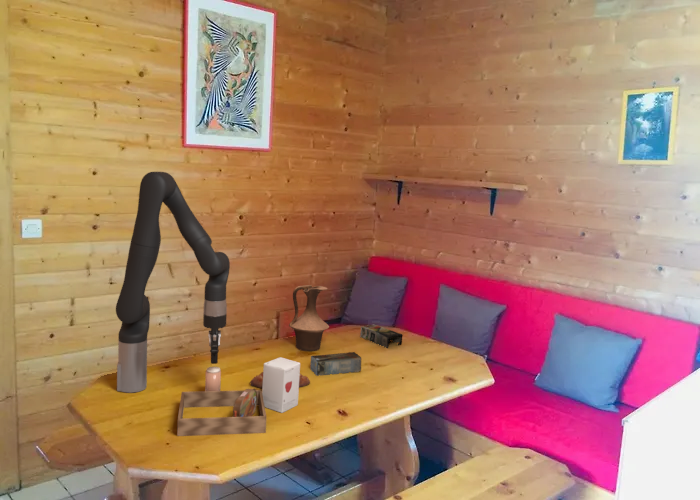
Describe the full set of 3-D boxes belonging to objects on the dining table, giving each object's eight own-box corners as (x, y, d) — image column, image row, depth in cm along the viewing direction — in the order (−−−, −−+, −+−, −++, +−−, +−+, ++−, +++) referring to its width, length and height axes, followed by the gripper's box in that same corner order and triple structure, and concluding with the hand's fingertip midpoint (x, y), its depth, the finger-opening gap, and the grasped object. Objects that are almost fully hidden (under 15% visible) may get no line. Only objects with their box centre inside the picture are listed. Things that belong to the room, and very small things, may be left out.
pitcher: (293, 355, 252) (296, 289, 248) (282, 342, 268) (285, 280, 264) (333, 352, 259) (337, 288, 254) (320, 340, 274) (324, 280, 270)
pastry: (280, 374, 231) (281, 354, 230) (311, 384, 222) (312, 364, 221) (248, 386, 217) (249, 364, 216) (280, 398, 208) (282, 376, 207)
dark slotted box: (357, 337, 284) (358, 324, 283) (373, 334, 290) (374, 322, 290) (386, 349, 269) (388, 336, 268) (402, 346, 275) (403, 333, 274)
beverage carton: (309, 369, 238) (310, 353, 237) (354, 365, 245) (355, 350, 244) (316, 376, 230) (317, 360, 229) (361, 372, 238) (363, 356, 237)
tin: (240, 429, 183) (241, 403, 181) (230, 428, 183) (231, 401, 182) (257, 409, 197) (258, 385, 196) (248, 408, 198) (249, 384, 197)
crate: (177, 436, 176) (177, 419, 175) (181, 406, 196) (181, 391, 195) (265, 432, 182) (266, 417, 181) (260, 404, 202) (261, 390, 201)
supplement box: (282, 413, 195) (284, 369, 193) (260, 406, 200) (262, 363, 198) (298, 405, 203) (301, 362, 201) (278, 398, 208) (280, 356, 205)
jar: (204, 399, 203) (205, 371, 201) (205, 393, 207) (206, 366, 206) (220, 399, 204) (221, 371, 202) (220, 393, 208) (220, 366, 207)
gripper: (203, 306, 207) (203, 352, 210) (203, 318, 193) (202, 366, 196) (226, 306, 209) (225, 351, 211) (226, 318, 195) (225, 366, 197)
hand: (214, 358), depth 203 cm, fingers open, 8 cm apart
